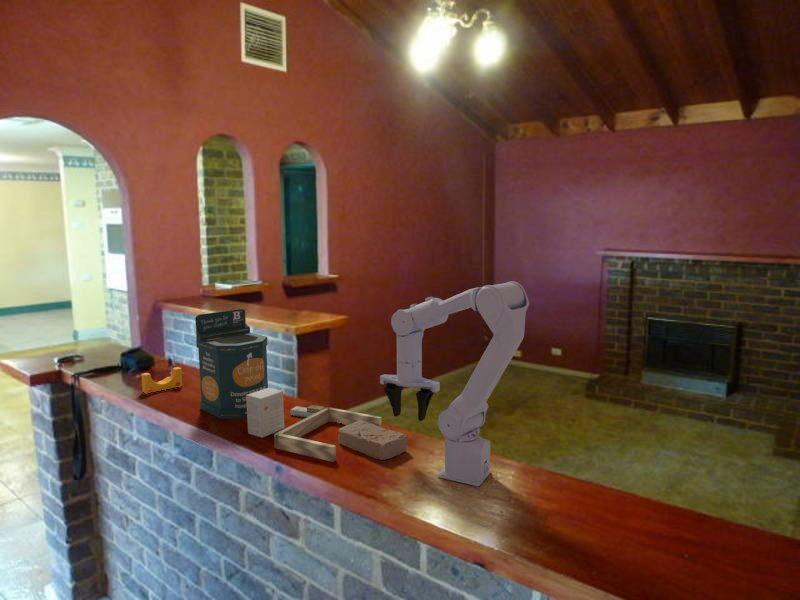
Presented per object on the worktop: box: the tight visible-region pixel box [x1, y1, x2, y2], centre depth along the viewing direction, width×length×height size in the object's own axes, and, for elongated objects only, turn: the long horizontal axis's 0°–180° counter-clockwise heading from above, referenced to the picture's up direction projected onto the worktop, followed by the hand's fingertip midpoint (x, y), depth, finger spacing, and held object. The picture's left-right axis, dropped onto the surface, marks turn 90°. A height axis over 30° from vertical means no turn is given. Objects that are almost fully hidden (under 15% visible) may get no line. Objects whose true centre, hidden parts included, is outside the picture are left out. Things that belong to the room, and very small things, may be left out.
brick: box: [337, 421, 408, 461], centre depth 139 cm, size 17×8×5 cm, turn 48°
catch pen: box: [273, 406, 383, 463], centre depth 145 cm, size 17×22×4 cm
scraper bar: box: [289, 404, 326, 418], centre depth 162 cm, size 10×3×3 cm, turn 66°
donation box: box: [194, 308, 269, 420], centre depth 166 cm, size 16×16×28 cm
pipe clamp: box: [140, 366, 184, 395], centre depth 187 cm, size 12×4×6 cm, turn 134°
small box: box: [246, 387, 285, 438], centre depth 150 cm, size 8×6×10 cm
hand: (409, 417), depth 133 cm, fingers open, 6 cm apart
